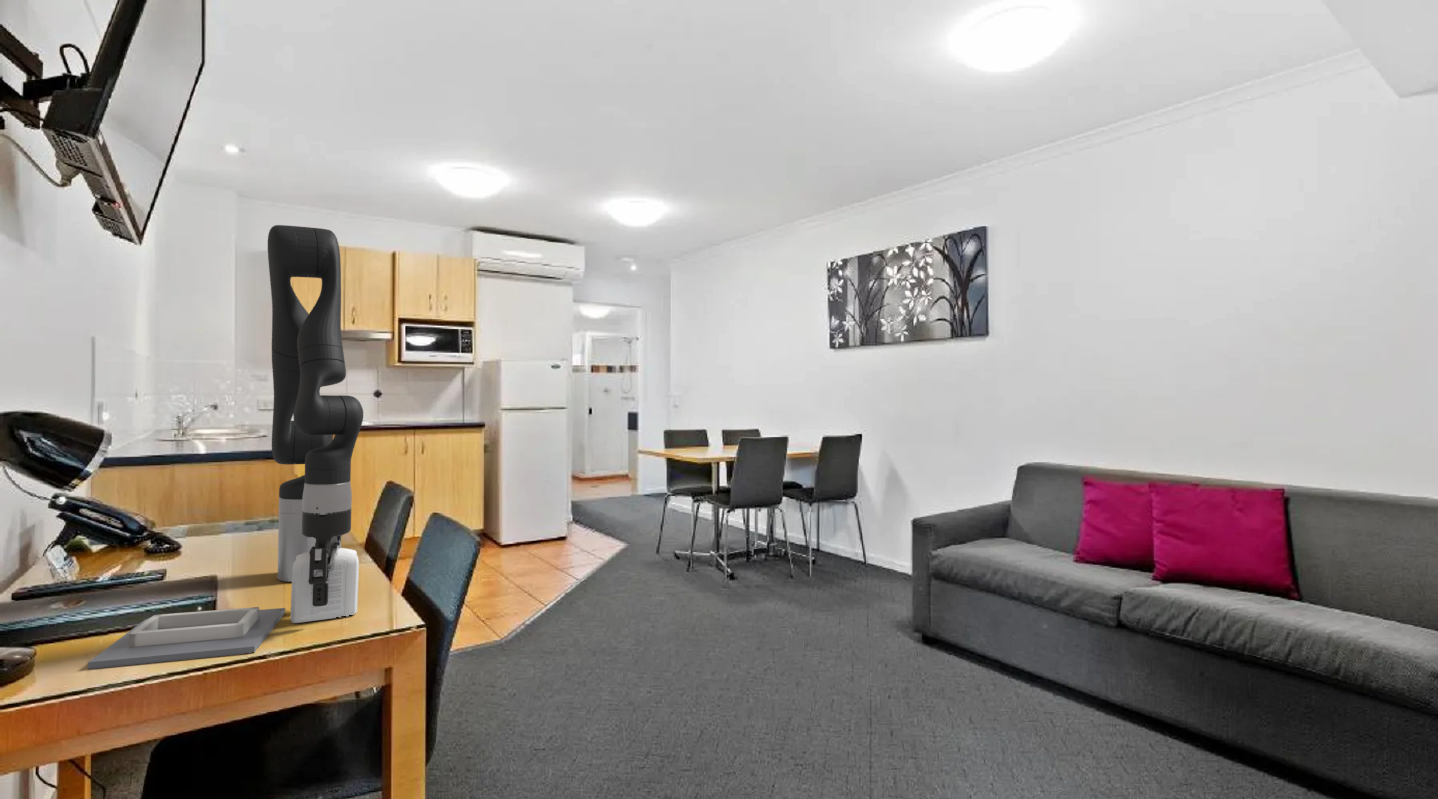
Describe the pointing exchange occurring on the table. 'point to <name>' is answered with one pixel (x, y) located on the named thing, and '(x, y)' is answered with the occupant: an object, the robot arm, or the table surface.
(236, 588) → the table surface
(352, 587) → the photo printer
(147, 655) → the dock
